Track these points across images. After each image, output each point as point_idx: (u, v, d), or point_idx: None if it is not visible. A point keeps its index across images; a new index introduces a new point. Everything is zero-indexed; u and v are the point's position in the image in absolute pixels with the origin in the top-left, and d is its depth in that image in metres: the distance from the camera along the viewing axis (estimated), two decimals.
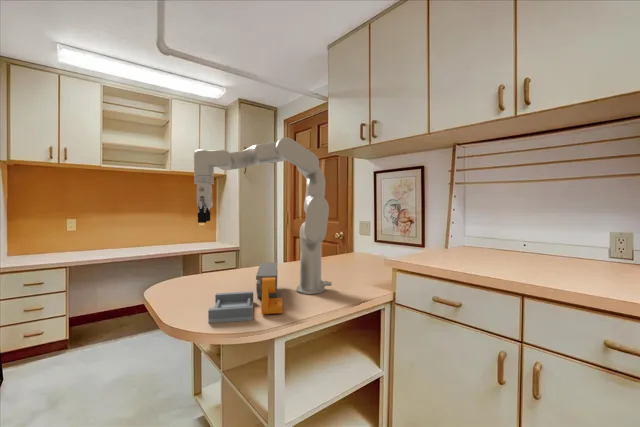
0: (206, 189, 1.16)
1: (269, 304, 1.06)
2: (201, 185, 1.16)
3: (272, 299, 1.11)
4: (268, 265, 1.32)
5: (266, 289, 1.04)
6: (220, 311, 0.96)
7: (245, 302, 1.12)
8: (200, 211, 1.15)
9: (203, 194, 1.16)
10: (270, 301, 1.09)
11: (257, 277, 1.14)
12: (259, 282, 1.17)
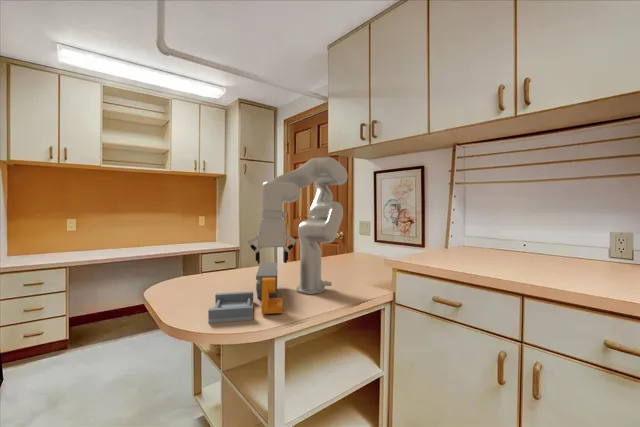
0: None
1: (269, 304, 1.06)
2: None
3: (272, 299, 1.11)
4: (268, 265, 1.32)
5: (266, 289, 1.04)
6: (220, 311, 0.96)
7: (245, 302, 1.12)
8: (289, 250, 1.07)
9: None
10: (270, 301, 1.09)
11: (257, 277, 1.14)
12: (259, 282, 1.17)
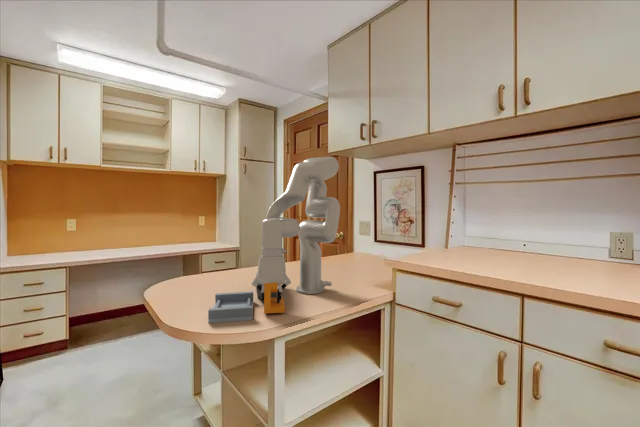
0: None
1: (271, 304, 1.06)
2: (284, 258, 1.07)
3: (273, 299, 1.11)
4: None
5: (269, 289, 1.04)
6: (220, 311, 0.96)
7: (245, 302, 1.12)
8: None
9: None
10: (272, 301, 1.09)
11: None
12: None
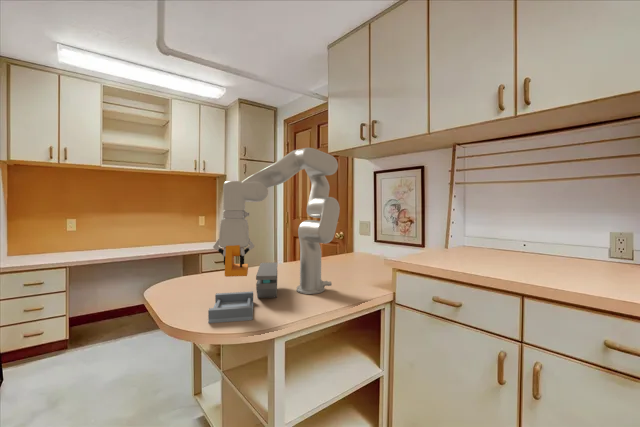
0: None
1: (233, 267, 1.04)
2: (247, 222, 1.05)
3: (237, 264, 1.09)
4: (268, 265, 1.32)
5: (230, 251, 1.02)
6: (220, 311, 0.96)
7: (245, 302, 1.12)
8: None
9: (248, 231, 1.06)
10: (235, 266, 1.07)
11: (257, 277, 1.14)
12: (259, 282, 1.17)
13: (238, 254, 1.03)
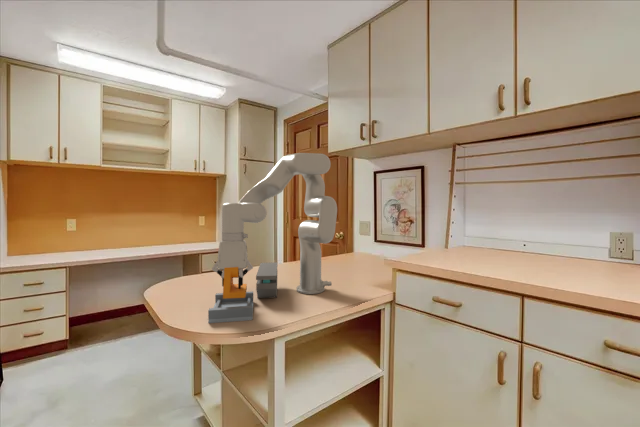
0: None
1: (232, 289, 1.04)
2: (245, 243, 1.05)
3: (236, 285, 1.09)
4: (268, 265, 1.32)
5: (228, 273, 1.02)
6: (220, 311, 0.96)
7: (245, 302, 1.12)
8: (243, 275, 1.05)
9: None
10: (234, 286, 1.07)
11: (257, 277, 1.14)
12: (259, 282, 1.17)
13: (236, 276, 1.03)
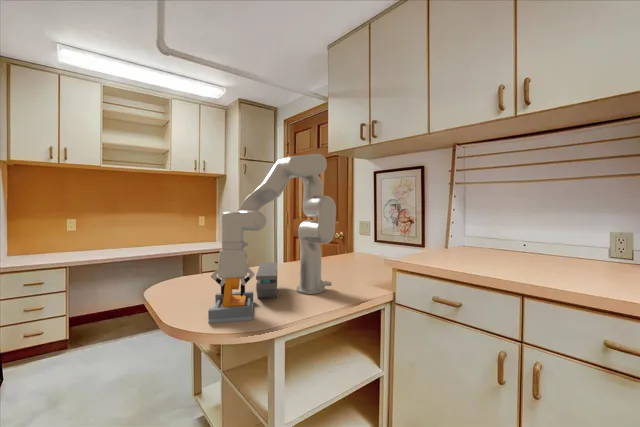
0: None
1: (231, 301, 1.04)
2: (246, 252, 1.05)
3: (235, 296, 1.09)
4: (268, 265, 1.32)
5: (229, 285, 1.02)
6: (220, 311, 0.96)
7: (245, 302, 1.12)
8: None
9: None
10: (233, 298, 1.07)
11: (257, 277, 1.14)
12: (259, 282, 1.17)
13: (237, 288, 1.04)
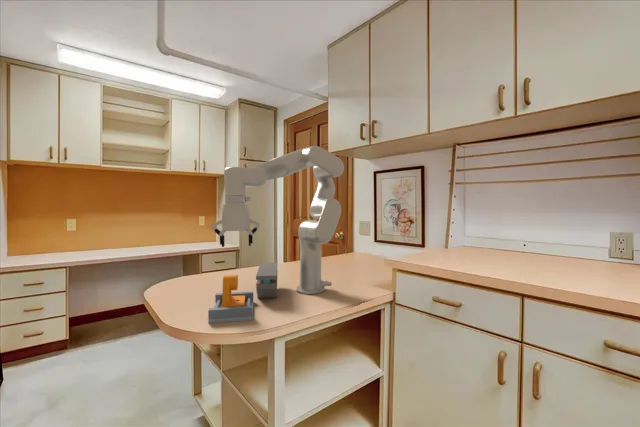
0: None
1: (231, 302, 1.04)
2: None
3: (234, 297, 1.09)
4: (268, 265, 1.32)
5: (227, 286, 1.02)
6: (220, 311, 0.96)
7: (245, 302, 1.12)
8: (253, 233, 1.11)
9: (249, 215, 1.11)
10: (232, 299, 1.07)
11: (257, 277, 1.14)
12: (259, 282, 1.17)
13: (235, 288, 1.04)
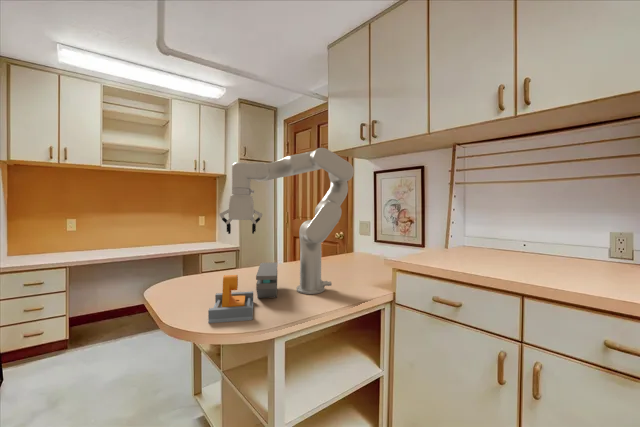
0: None
1: (231, 302, 1.04)
2: (252, 198, 1.23)
3: (234, 297, 1.09)
4: (268, 265, 1.32)
5: (227, 286, 1.02)
6: (220, 311, 0.96)
7: (245, 302, 1.12)
8: (256, 222, 1.23)
9: (253, 206, 1.24)
10: (232, 299, 1.07)
11: (257, 277, 1.14)
12: (259, 282, 1.17)
13: (235, 288, 1.04)
